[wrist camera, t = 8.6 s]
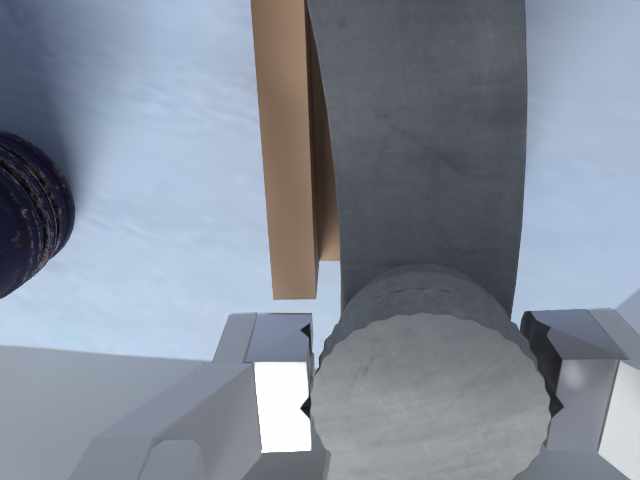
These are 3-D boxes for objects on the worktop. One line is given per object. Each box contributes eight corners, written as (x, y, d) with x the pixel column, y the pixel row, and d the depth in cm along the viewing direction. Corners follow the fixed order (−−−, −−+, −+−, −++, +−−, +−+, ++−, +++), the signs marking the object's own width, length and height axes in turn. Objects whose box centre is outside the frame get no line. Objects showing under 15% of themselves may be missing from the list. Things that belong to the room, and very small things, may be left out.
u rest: (466, -58, 28) (499, -77, 22) (445, 249, 35) (466, 297, 29) (265, -50, 29) (245, -66, 23) (284, 251, 36) (273, 299, 30)
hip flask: (374, -46, 23) (248, -249, 5) (469, -48, 23) (711, -286, 4) (364, 277, 30) (292, 700, 11) (438, 281, 29) (486, 736, 11)
